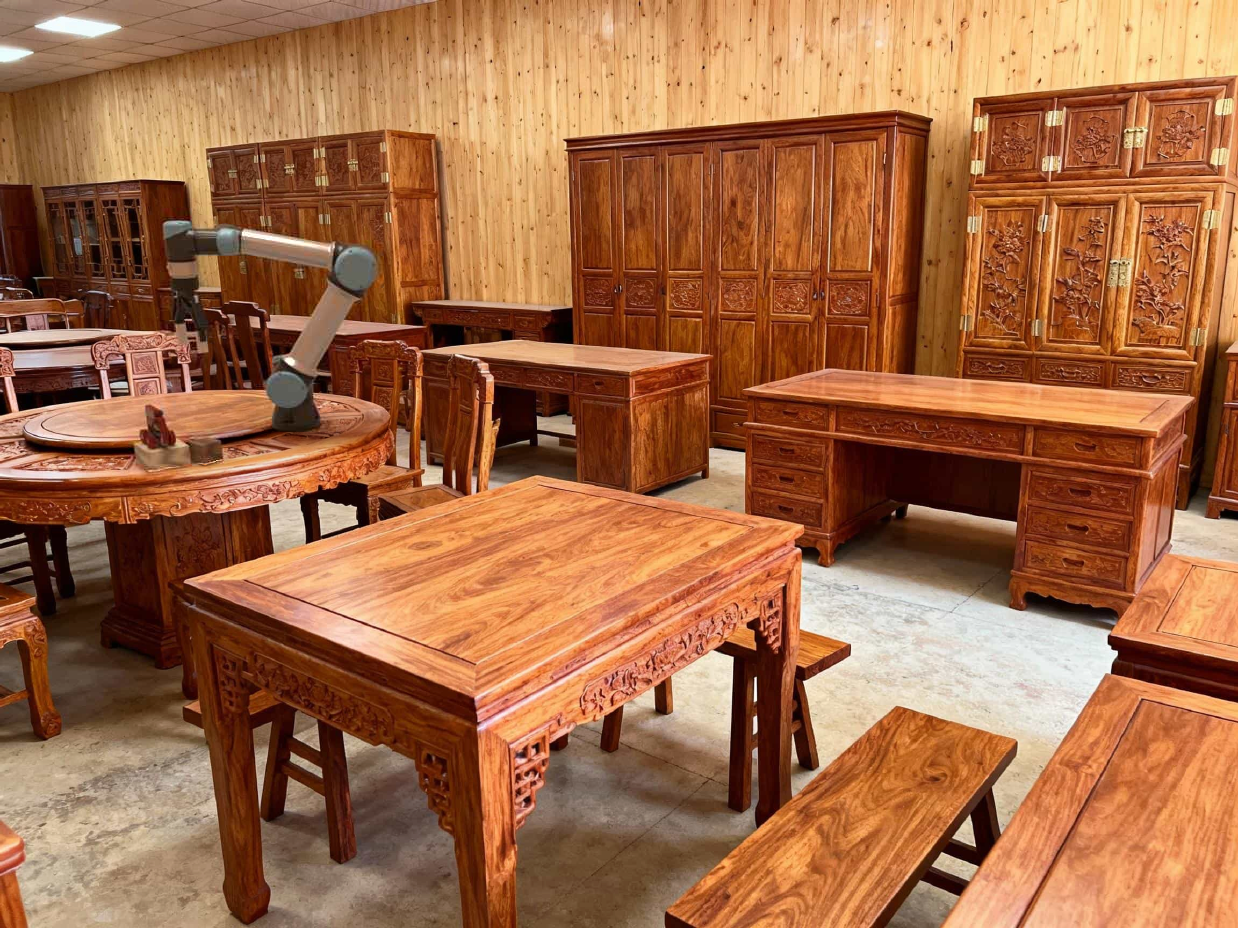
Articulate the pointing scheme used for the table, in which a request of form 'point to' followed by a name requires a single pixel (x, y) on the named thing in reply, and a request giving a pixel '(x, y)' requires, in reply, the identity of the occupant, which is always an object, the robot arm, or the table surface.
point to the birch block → (162, 455)
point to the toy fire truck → (156, 429)
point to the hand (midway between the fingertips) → (193, 349)
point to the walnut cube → (205, 450)
